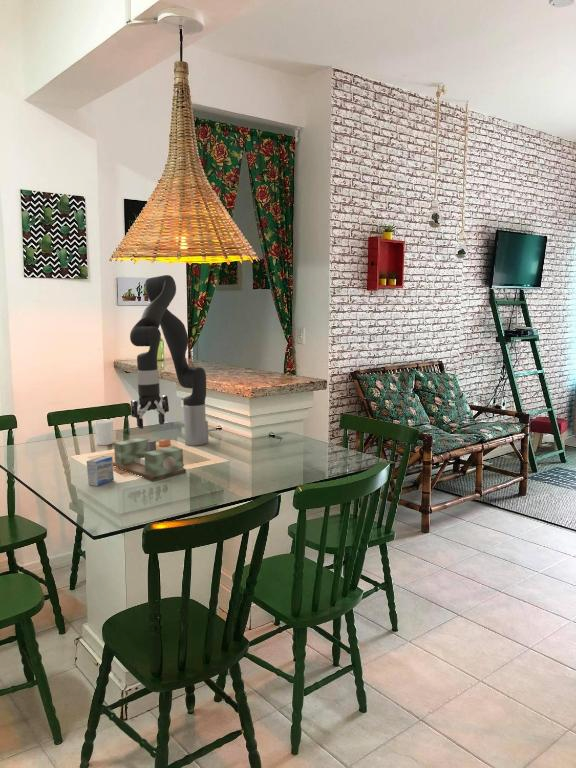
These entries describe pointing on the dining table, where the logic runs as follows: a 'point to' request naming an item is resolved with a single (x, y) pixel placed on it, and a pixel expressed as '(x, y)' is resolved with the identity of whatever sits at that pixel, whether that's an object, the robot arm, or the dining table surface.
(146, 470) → the rail stand
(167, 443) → the button
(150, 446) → the carriage
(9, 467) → the dining table surface
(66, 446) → the dining table surface
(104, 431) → the white cup
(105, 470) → the medicine box
